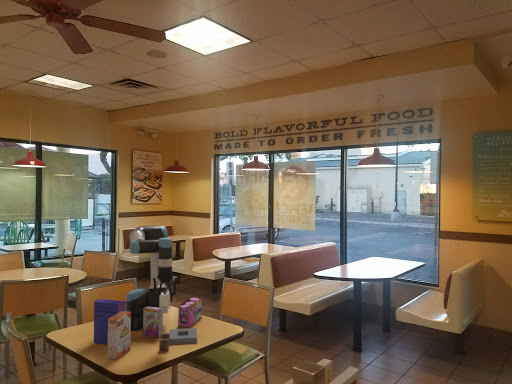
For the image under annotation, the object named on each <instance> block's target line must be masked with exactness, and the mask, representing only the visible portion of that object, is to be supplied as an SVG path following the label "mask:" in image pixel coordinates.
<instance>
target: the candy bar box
mask: <svg viewBox="0 0 512 384" xmlns="http://www.w3.org/2000/svg"><path fill="white" fill-rule="evenodd" d="M163 318H164V313H162V308H161V309H159V308H157V307H149V306H147V307H145V308H143V330H142V335H143V336H146V337H153V338H160V334H161V333H164V332H163V331H164V330H163V329H164V328H163V326H164V325H163V324H164V322H163V321H164V319H163Z"/></svg>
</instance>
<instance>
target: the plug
mask: <svg viewBox="0 0 512 384" xmlns="http://www.w3.org/2000/svg"><path fill="white" fill-rule="evenodd" d="M169 295H170V292H164V293H161V300H160V307H162V313H163V314H168V311H169Z"/></svg>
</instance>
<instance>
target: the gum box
mask: <svg viewBox="0 0 512 384" xmlns="http://www.w3.org/2000/svg"><path fill="white" fill-rule="evenodd" d="M202 304H203V297H201V296H190V297H189V298H188V299H186V300H184V301H183V302H181V303H180V304H178V314H177V315H178V316H177V317H178V319H177V320H178V321H177V327H184V328H190V327H191V326H192V325H193V324H195V323H196V322H197V321H198V320H199V318H200V319H201V318H202V317H201V315H202V316H203V311H202V310H203V309H202V308H203V307H202V306H203V305H202Z"/></svg>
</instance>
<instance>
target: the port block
mask: <svg viewBox="0 0 512 384" xmlns="http://www.w3.org/2000/svg"><path fill="white" fill-rule="evenodd" d="M197 331H198V329H197V327H193V328H190V327H187V328H173V329H169V332H168V333H170V339H169V345H182V344H185V345H186V344H197V343H198V332H197Z"/></svg>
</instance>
